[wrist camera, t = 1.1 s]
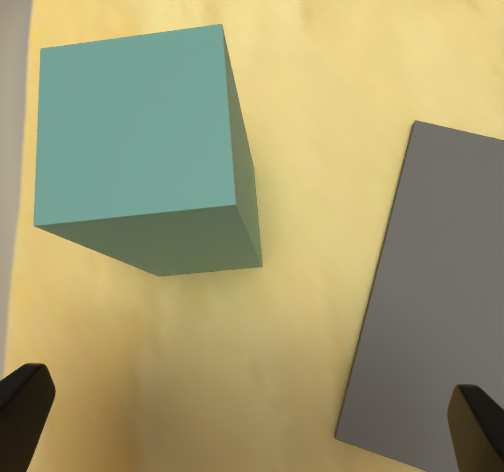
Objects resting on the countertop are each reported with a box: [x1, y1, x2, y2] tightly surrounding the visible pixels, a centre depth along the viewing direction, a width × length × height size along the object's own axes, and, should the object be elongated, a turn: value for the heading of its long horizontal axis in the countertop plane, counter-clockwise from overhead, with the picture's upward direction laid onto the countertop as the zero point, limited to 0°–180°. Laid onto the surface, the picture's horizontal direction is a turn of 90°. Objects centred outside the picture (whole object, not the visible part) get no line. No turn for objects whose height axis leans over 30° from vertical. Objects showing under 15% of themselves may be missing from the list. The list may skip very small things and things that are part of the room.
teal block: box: [34, 24, 263, 276], centre depth 18 cm, size 6×6×12 cm
